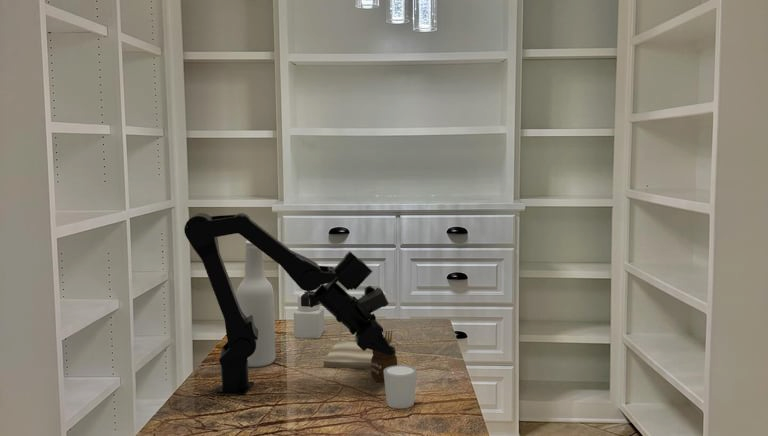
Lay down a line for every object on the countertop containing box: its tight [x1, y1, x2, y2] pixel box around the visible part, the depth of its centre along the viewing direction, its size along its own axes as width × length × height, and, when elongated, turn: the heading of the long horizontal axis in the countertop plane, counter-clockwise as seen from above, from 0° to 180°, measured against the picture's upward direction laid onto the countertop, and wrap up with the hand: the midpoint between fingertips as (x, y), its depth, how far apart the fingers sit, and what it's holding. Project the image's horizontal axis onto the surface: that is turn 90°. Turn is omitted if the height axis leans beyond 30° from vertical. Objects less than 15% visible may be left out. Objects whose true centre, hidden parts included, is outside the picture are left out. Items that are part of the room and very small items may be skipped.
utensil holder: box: [370, 330, 398, 383], centre depth 151 cm, size 6×6×12 cm
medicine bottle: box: [293, 290, 325, 339], centre depth 186 cm, size 7×7×12 cm
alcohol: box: [236, 240, 277, 368], centre depth 162 cm, size 9×9×30 cm
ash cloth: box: [323, 340, 391, 370], centre depth 167 cm, size 16×14×2 cm
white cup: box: [384, 364, 418, 410], centre depth 137 cm, size 7×7×7 cm
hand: (390, 349), depth 151 cm, fingers closed on utensil holder, 6 cm apart
